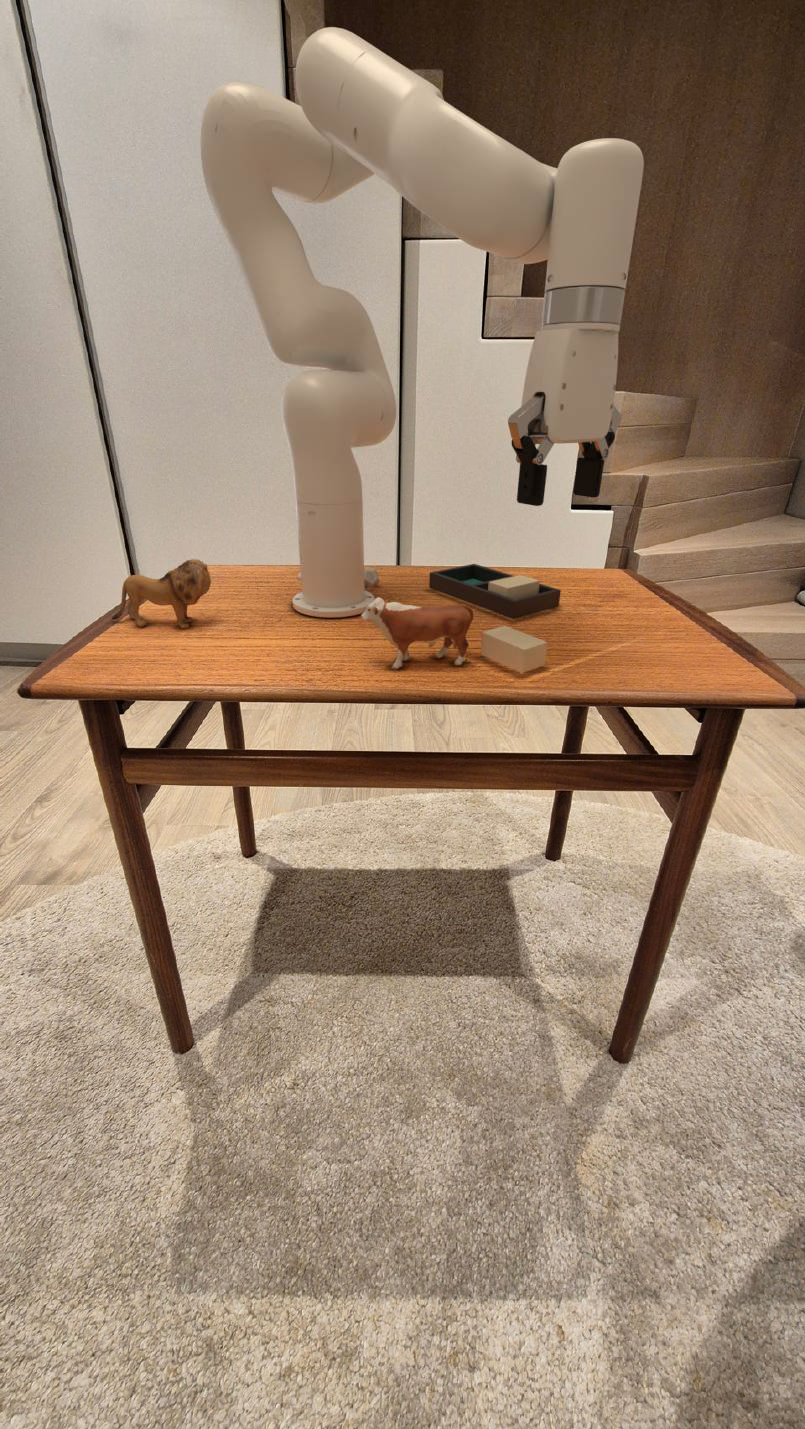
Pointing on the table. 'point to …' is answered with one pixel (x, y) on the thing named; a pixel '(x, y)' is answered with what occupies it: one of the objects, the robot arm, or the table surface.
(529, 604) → the dark shallow tray
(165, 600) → the lion figurine
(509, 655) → the tan rectangular block
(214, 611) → the table surface
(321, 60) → the robot arm
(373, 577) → the grey round piece
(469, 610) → the bull figurine
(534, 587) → the beige block
